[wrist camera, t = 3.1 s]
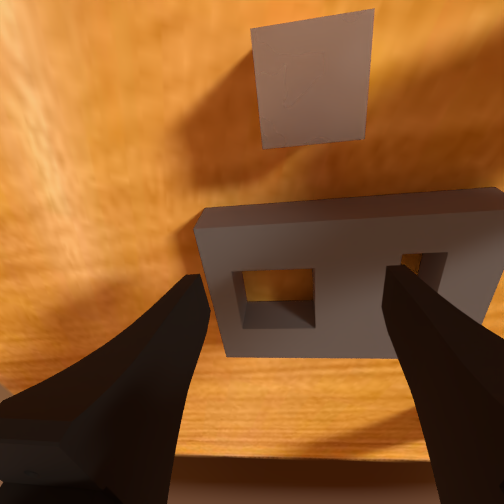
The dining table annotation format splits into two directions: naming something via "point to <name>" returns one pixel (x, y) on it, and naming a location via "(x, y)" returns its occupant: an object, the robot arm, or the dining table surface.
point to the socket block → (347, 266)
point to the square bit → (313, 79)
